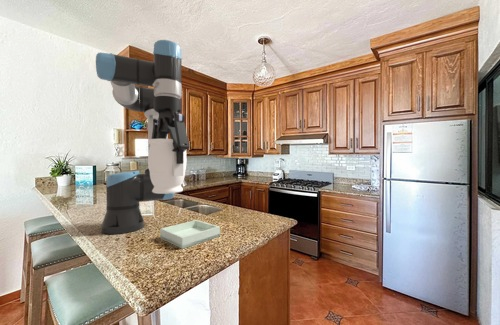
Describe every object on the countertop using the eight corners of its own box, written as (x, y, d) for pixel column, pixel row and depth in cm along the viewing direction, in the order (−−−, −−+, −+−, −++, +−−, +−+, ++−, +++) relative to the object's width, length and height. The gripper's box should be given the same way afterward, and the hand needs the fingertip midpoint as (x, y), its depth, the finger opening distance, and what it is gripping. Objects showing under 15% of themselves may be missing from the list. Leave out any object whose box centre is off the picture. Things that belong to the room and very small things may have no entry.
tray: (160, 238, 78) (160, 228, 78) (196, 228, 89) (196, 219, 89) (182, 249, 68) (182, 237, 68) (219, 236, 80) (219, 226, 80)
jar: (173, 195, 57) (173, 137, 57) (139, 194, 59) (139, 138, 59) (192, 189, 67) (192, 141, 67) (163, 188, 69) (162, 141, 69)
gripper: (138, 102, 67) (138, 173, 68) (176, 86, 52) (176, 178, 53) (161, 107, 73) (161, 172, 73) (202, 93, 58) (202, 176, 58)
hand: (168, 175), depth 63 cm, fingers closed on jar, 10 cm apart
